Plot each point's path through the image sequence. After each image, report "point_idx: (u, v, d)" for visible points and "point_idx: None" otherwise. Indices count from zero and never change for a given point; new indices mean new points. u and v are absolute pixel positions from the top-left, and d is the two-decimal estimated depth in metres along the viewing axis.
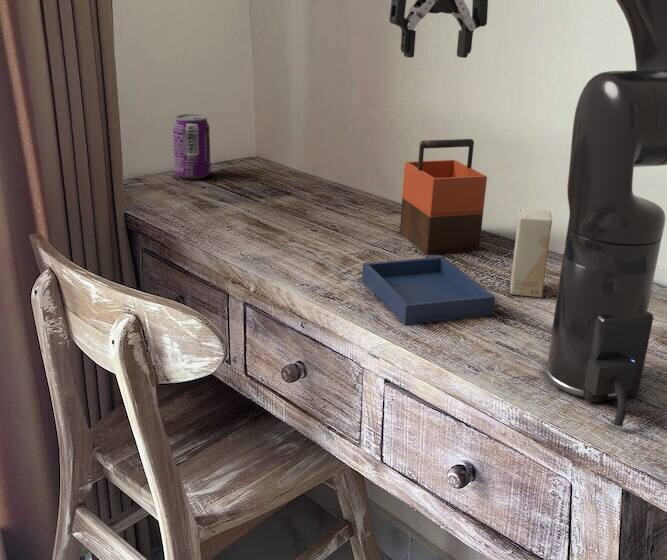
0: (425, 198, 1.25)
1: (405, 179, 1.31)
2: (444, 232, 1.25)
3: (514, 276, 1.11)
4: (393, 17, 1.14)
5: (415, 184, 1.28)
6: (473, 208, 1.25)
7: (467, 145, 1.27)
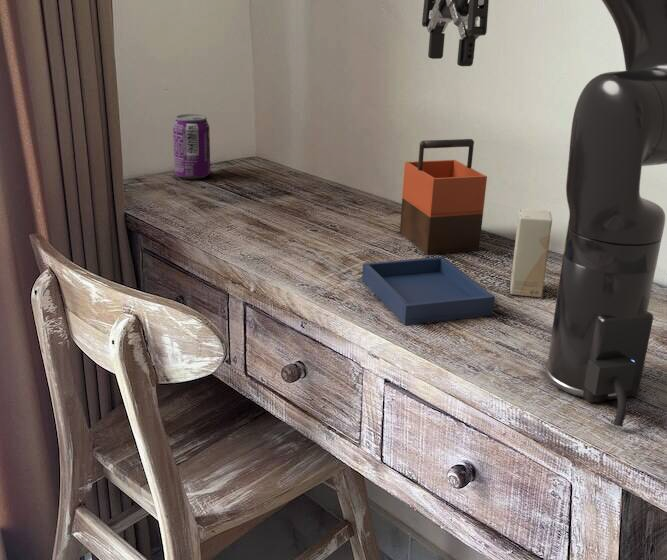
0: (425, 198, 1.25)
1: (405, 179, 1.31)
2: (444, 232, 1.25)
3: (514, 276, 1.11)
4: None
5: (415, 184, 1.28)
6: (473, 208, 1.25)
7: (467, 145, 1.27)
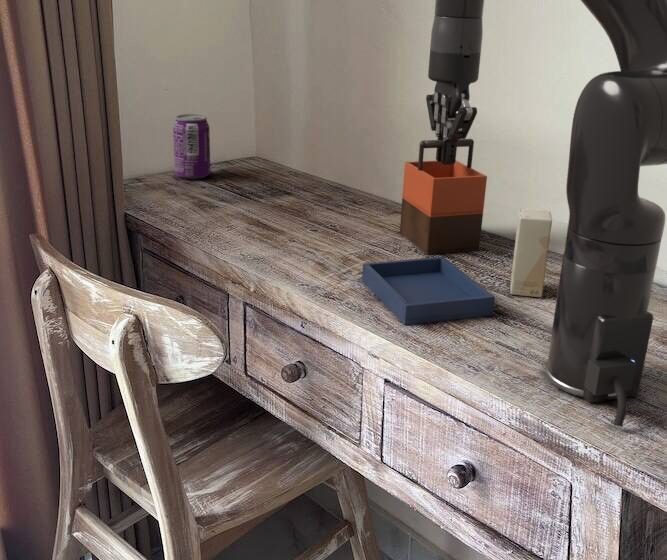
0: (425, 198, 1.25)
1: (405, 179, 1.31)
2: (444, 232, 1.25)
3: (514, 276, 1.11)
4: None
5: (415, 184, 1.28)
6: (473, 208, 1.25)
7: (467, 145, 1.27)
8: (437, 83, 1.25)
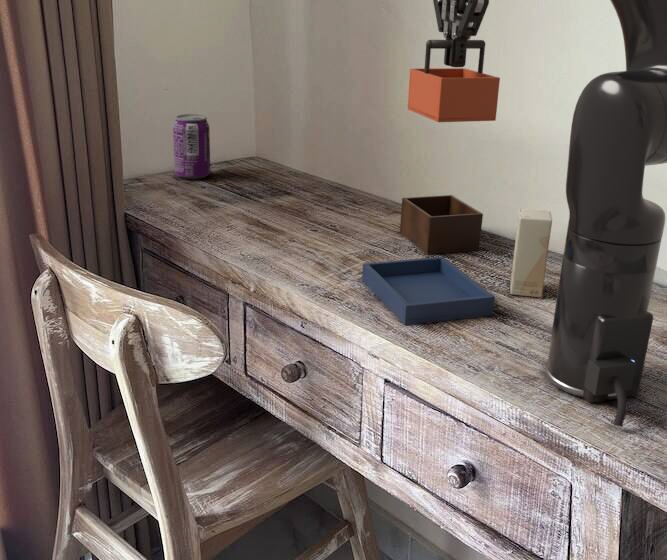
0: (432, 102, 1.14)
1: (410, 87, 1.21)
2: (444, 232, 1.25)
3: (514, 276, 1.11)
4: None
5: (421, 90, 1.17)
6: (485, 114, 1.15)
7: (478, 46, 1.16)
8: None
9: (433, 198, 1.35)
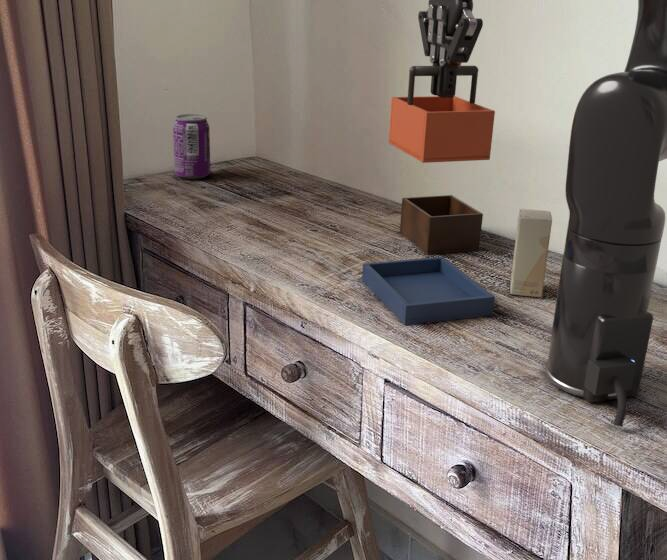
0: (416, 139, 0.98)
1: (392, 119, 1.05)
2: (444, 232, 1.25)
3: (514, 276, 1.11)
4: None
5: (404, 123, 1.01)
6: (477, 152, 0.99)
7: (470, 73, 1.00)
8: None
9: (433, 198, 1.35)
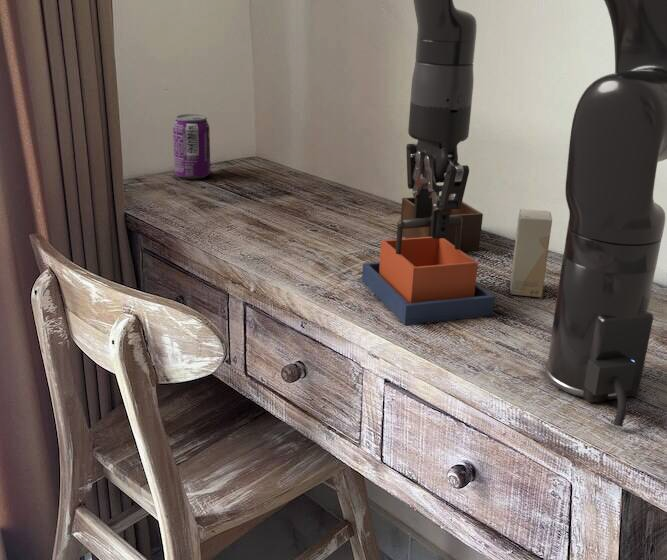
0: (404, 288, 1.05)
1: (382, 260, 1.11)
2: None
3: (514, 276, 1.11)
4: None
5: (393, 269, 1.08)
6: None
7: (454, 223, 1.07)
8: (420, 139, 1.04)
9: None
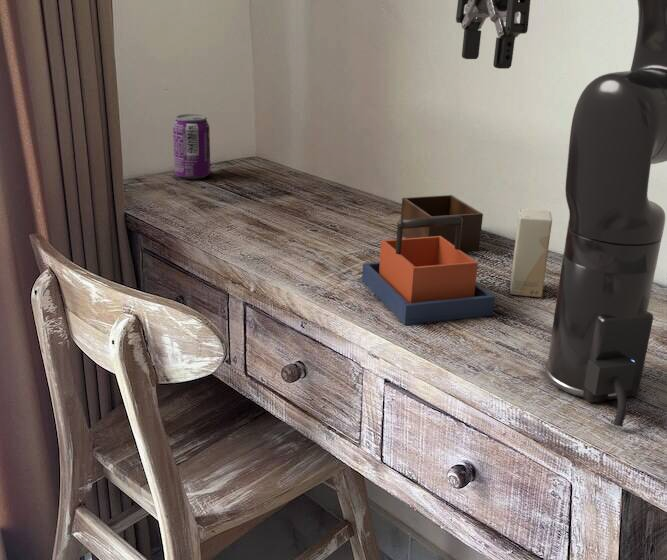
0: (404, 288, 1.05)
1: (382, 260, 1.11)
2: (444, 232, 1.25)
3: (514, 276, 1.11)
4: None
5: (393, 269, 1.08)
6: None
7: (454, 223, 1.07)
8: None
9: (433, 198, 1.35)
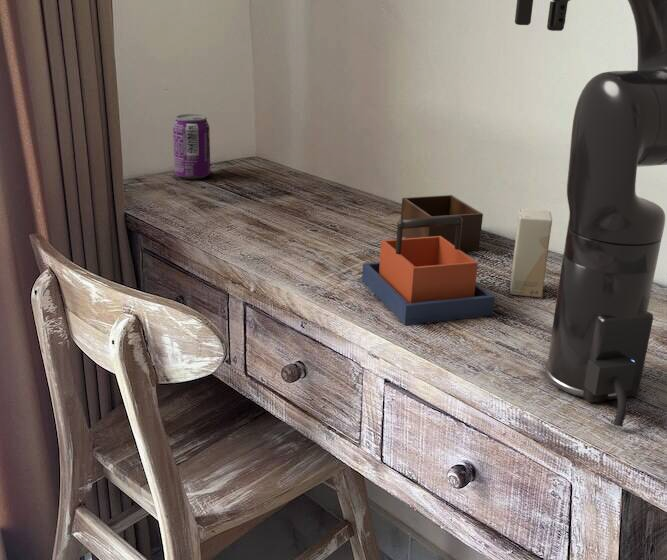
0: (404, 288, 1.05)
1: (382, 260, 1.11)
2: (444, 232, 1.25)
3: (514, 276, 1.11)
4: None
5: (393, 269, 1.08)
6: None
7: (454, 223, 1.07)
8: None
9: (433, 198, 1.35)
